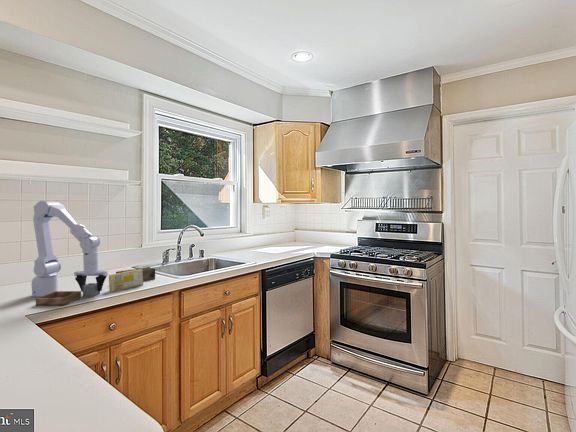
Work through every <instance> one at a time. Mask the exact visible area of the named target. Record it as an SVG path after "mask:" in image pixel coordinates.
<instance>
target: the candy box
mask: <svg viewBox="0 0 576 432" xmlns="http://www.w3.org/2000/svg"><path fill="white" fill-rule="evenodd" d="M108 284H109V287H108V288H109V292H115V291H120V290H125V289H126V290H127V289H131V288H135V287H139V286H143V285H144V281H143V271H142V269H140V270H134V271H128V272H122V273H117V274H116V273H111V274H108Z"/></svg>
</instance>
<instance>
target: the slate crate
mask: <svg viewBox="0 0 576 432" xmlns="http://www.w3.org/2000/svg"><path fill="white" fill-rule="evenodd" d="M100 294H101V291H100V292H98V290H97V282H95V283H94V282H93V283H92V282H89V283H87V284H86V285H84V286H83V292H82V297H84V298H85V297H88V298H91V297H93V298H94V297H95V296H98V295H100Z"/></svg>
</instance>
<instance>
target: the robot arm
mask: <svg viewBox="0 0 576 432" xmlns="http://www.w3.org/2000/svg"><path fill="white" fill-rule="evenodd" d="M33 212H34V213H33V216H32V217H33V219H32V220H33V221H32V222H33V227H34V233H35V240H36V247H37V253H38V257H37V258H36V259H35V260H34V261H33V262H34V266H33V273H34V275H35V276H34V277H33V278H32V281H31V295H30V297H36V298H39V297H42V296H44V295H47V294H50V293H52V292H55V291H59V289H58V275H59V273H60V271H61V269H62V265H61V262H60V261H59V258H58V256H57V255H55V254H54V251H53V250H54V249H53V245H52V237H51V231H50V230H51V229H50V223H49V222H50V221H51V220H52V219H53V218H54V217H57V219H59V220H60V221H61V222H62V223H64V224H65V225H66V226H67V227H68V228H69V230H70V232H69V233H70V234H71V235H73V237H74V238H75V239H76V240H77V241H78V242H79V247H80V249H81V250H82V251H81V252H82V254H83V256H82V258H83V259H82V261H83V270H77V271H74V272H73V275H74V277H75V278H74V280H75V281H76V282H77V284H78V286H79V288H80V291H81V293H83V286H84V285H86V283H87V277H95V280H96V283H97V290H98V292H100V293H101V291H103V287H104V282H105V281H106V278H107V276H109V271H107V270H99V261H98V260H99V257H98V248H99V246H100V244H101V240H100V238H99V237H98V235H97V236H96V235H94V234H92V233H91V232H90V231H89V230H88V229H87V228H86V225H83V224H80V223H77V222H76V221H75V219H74V218H73V217H72V216H71V215H70V213H69V212H68V211H67V210H66V206H65V205H63V203H62V202H61V201H57V200H54V201H53V200H48V201H47V200H39V201H37V202H36V204H34V206H33Z"/></svg>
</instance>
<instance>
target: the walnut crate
mask: <svg viewBox="0 0 576 432" xmlns="http://www.w3.org/2000/svg"><path fill="white" fill-rule="evenodd" d="M79 299H82V292H81V290H80V291H79V290H76V291H75V290H70V291H69V290H65V291H64V290H58V291H55V292H52V293H50V294H47V295H44V296H42V297H36V298H35V307H44V306H45V307H46V306H47V307H56V306H57V307H60V306H61V307H62V306H66V305H69V304H70V303H73V302H75V301H77V300H79Z"/></svg>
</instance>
